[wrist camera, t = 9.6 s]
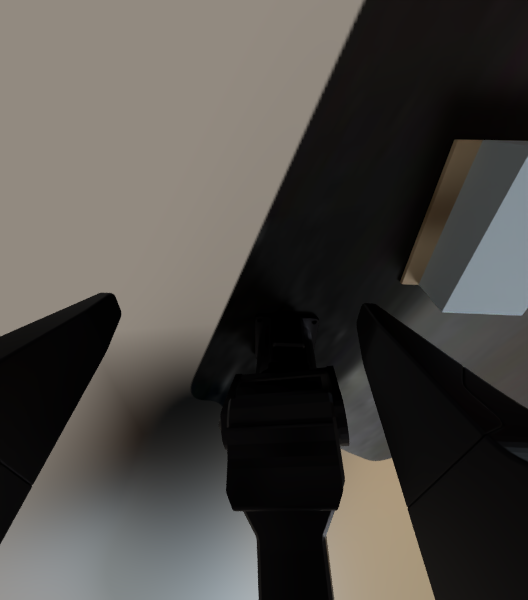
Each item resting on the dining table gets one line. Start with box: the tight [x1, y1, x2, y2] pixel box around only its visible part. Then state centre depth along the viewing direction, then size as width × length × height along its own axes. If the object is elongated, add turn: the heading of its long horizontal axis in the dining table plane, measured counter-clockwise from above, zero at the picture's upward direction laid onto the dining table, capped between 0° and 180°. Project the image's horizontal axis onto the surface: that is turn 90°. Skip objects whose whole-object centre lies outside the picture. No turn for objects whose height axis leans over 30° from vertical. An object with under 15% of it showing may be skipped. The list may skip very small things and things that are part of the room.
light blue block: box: [419, 140, 528, 316], centre depth 18 cm, size 11×6×4 cm, turn 179°
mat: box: [400, 140, 512, 285], centre depth 20 cm, size 11×9×1 cm
